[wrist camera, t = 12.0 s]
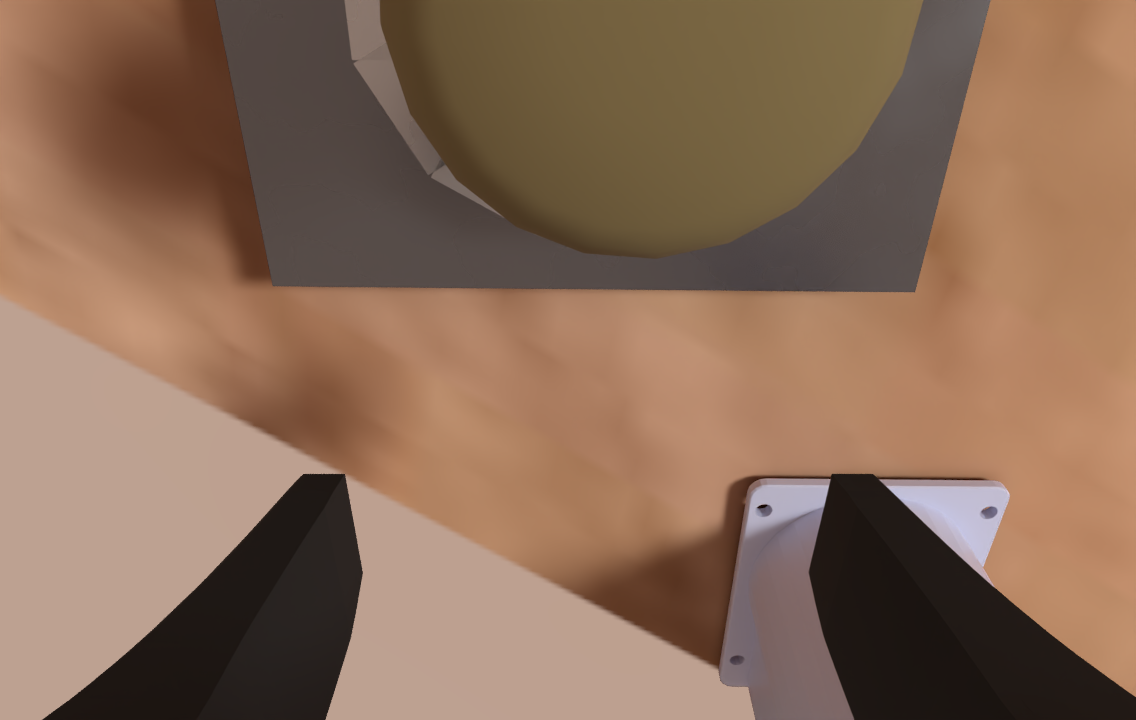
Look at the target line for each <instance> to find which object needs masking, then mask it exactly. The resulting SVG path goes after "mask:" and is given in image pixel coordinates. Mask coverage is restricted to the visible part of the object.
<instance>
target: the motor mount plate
mask: <svg viewBox="0 0 1136 720" xmlns="http://www.w3.org/2000/svg"><path fill="white" fill-rule="evenodd" d="M215 2H216V7H217V12H218V17H219V22H220V27H221V32H222V37H223V42H224V47H225V52H226V57H227V62H228V67H229V72H230V77H231V82H232V87H233V91H234V96H235V101H236V106H237V111H238V116H239V121H240V126H241V131H242V136H243V141H244V146H245V151H246V156H247V161H248V166H249V171H250V176H251V181H252V186H253V191H254V196H255V201H256V206H257V211H258V215H259V220H260V225H261V230H262V235H263V240H264V245H265V250H266V255H267V260H268V265H269V270H270V275H271V280H272V285H273V286H306V287H413V288H520V289H627V290H734V291H841V292H915V290H916V286H917V282H918V278H919V274H920V271H921V267H922V263H923V259H924V255H925V251H926V247H927V244H928V240H929V236H930V232H931V228H932V224H933V220H934V216H935V213H936V209H937V205H938V201H939V197H940V193H941V189H942V186H943V182H944V178H945V174H946V170H947V166H948V162H949V158H950V155H951V151H952V147H953V143H954V139H955V135H956V131H957V127H958V124H959V120H960V116H961V112H962V108H963V104H964V100H965V97H966V93H967V89H968V85H969V81H970V77H971V73H972V69H973V66H974V62H975V58H976V54H977V50H978V46H979V42H980V39H981V35H982V31H983V27H984V23H985V19H986V15H987V11H988V8H989V4H990V0H923V3H922V7H921V10H920V14H919V17H918V21H917V24H916V28H915V31H914V35H913V38H912V42H911V46H910V49H909V53H908V56H907V60H906V63H905V67H904V70H903V74H902V76H901V78H900V79H899V81H898V83H897V84H896V86H895V88H894V89H893V91H892V93H891V94H890V96H889V97H888V99H887V101H886V102H885V104H884V106H883V107H882V109H881V111H880V112H879V114H878V116H877V117H876V119H875V121H874V122H873V124H872V125H871V127H870V129H869V130H868V132H867V134H866V135H865V137H864V139H863V140H862V142H861V144H860V145H859V147H858V148H857V150H856V151H855V152H854V153H853V154H852V155H851V156H850V157H849V158H848V159H847V160H846V161H845V162H844V163H842V164H841V165H840V166H839V167H838V168H837V169H836V170H835V171H834V172H833V173H832V174H831V175H830V176H829V177H828V178H827V179H826V180H825V181H824V182H822V183H821V184H820V185H819V186H818V187H817V188H816V189H815V190H814V191H813V192H812V193H811V194H810V195H809V196H808V197H807V198H806V199H805V200H804V201H802V202H801V203H800V204H799V205H798V206H797V207H796V208H794V209H792V210H790V211H788V212H786V213H784V214H783V215H781V216H779V217H777V218H775V219H773V220H771V221H769V222H768V223H766V224H764V225H762V226H760V227H758V228H756V229H754V230H753V231H751V232H749V233H747V234H745V235H743V236H741V237H739V238H738V239H736V240H734V241H732V242H730V243H728V244H723V245H718V246H714V247H709V248H704V249H700V250H695V251H690V252H686V253H681V254H677V255H672V256H667V257H663V258H658V259H652V258H638V257H625V256H612V255H599V254H586V253H582V252H579V251H577V250H574V249H572V248H569V247H566V246H564V245H561V244H559V243H556V242H554V241H551V240H548V239H546V238H543V237H541V236H538V235H536V234H533V233H531V232H528V231H525V230H523V229H520V228H518V227H516V226H514V225H513V224H512V223H510V222H509V221H508V220H507V219H505V218H504V217H503V216H502V215H500V214H499V213H498V212H497V211H495V210H494V209H493V208H491V207H490V206H489V205H488V204H486V203H485V202H484V201H483V200H481V199H480V198H479V197H478V196H476V195H475V194H474V193H472V192H471V191H470V190H469V189H467V188H466V187H465V186H464V185H462V184H461V183H460V182H458V181H457V180H456V179H455V177H454V176H453V174H452V173H451V171H450V170H449V169H448V167H447V166H446V164H445V163H444V161H443V160H442V159H441V157H440V156H439V154H438V153H437V151H436V150H435V149H434V147H433V146H432V144H431V143H430V141H429V140H428V139H427V137H426V136H425V134H424V133H423V131H422V130H421V129H420V127H419V126H418V124H417V123H416V121H415V120H414V119H413V117H412V116H411V114H410V112H409V109H408V106H407V103H406V100H405V97H404V94H403V91H402V88H401V85H400V82H399V79H398V76H397V73H396V70H395V67H394V64H393V61H392V58H391V55H390V52H389V49H388V46H387V43H386V40H385V37H384V34H383V31H382V28H381V23H380V1H379V0H215Z"/></svg>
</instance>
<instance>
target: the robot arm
mask: <svg viewBox="0 0 1136 720" xmlns="http://www.w3.org/2000/svg"><path fill="white" fill-rule="evenodd" d="M1008 501H1009V493H1008V491H1007V489H1006V488H1005V486H1004V485H1003V484H1002V483H1000V482H999V481H993V480H888V479H878V478H877V477H876V476H874V475H873V474H832V475H831V479H778V478H765V479H759V480H757V481H755V482H753V483H752V484H751V485H750V486H749V489H748V491H747V497H746V503H745V510H744V516H743V522H742V528H741V534H740V541H739V547H738V553H737V559H736V565H735V572H734V578H733V584H732V590H731V596H730V603H729V609H728V615H727V621H726V627H725V634H724V640H723V646H722V652H721V658H720V665H719V676H720V681H721V682H722V683H723V684H725V685H727V686H735V687H748V688H749V692H750V697H751V701H752V706H753V710H754V715H755V720H1136V697H1135V696H1133V695H1132V694H1130V693H1129V692H1127V691H1126V690H1125V689H1123V688H1122V687H1120V686H1119V685H1118V684H1116V683H1115V682H1114V681H1112V680H1111V679H1109V678H1108V677H1107V676H1105V675H1104V674H1103V673H1101V672H1100V671H1098V670H1097V669H1096V668H1094V667H1093V666H1092V665H1090V664H1089V663H1087V662H1086V661H1085V660H1083V659H1082V658H1081V657H1079V656H1078V655H1077V654H1075V653H1074V652H1073V651H1071V650H1070V649H1069V648H1067V647H1066V646H1065V645H1064V644H1062V643H1061V642H1060V641H1058V640H1057V639H1056V638H1055V637H1053V636H1052V635H1051V634H1049V633H1048V632H1047V631H1046V630H1045V629H1043V628H1042V627H1041V626H1040V625H1039V624H1037V623H1036V622H1035V621H1034V620H1032V619H1031V618H1030V617H1029V616H1028V615H1026V614H1025V613H1024V612H1023V611H1022V610H1020V609H1019V608H1018V607H1017V606H1015V605H1014V604H1013V603H1012V602H1011V601H1009V600H1008V599H1007V598H1006V597H1005V596H1004V595H1003V594H1001V593H1000V592H999V591H998V590H997V589H996V588H995V587H994V585H993V584H992V582H991V580H990V579H989V577H988V575H987V574H986V572H985V570H984V569H983V566H984V563H985V561H986V558H987V556H988V553H989V550H990V548H991V545H992V542H993V540H994V537H995V535H996V532H997V529H998V527H999V524H1000V522H1001V519H1002V516H1003V514H1004V511H1005V509H1006V506H1007V503H1008ZM763 504H767V505H768V506H766V507H765V508H761V509H759V508H757V507H758V506H760V505H763ZM986 507H989V508H988V509H986V510H983V509H984V508H986ZM362 574H363V571H362V566H361V560H360V555H359V550H358V544H357V538H356V533H355V527H354V522H353V516H352V511H351V505H350V500H349V494H348V489H347V484H346V478H345V474H303V475H302V476H301V477H300V478H299V479H298V480H297V481H296V482H295V483H294V484H293V485H292V486H291V487H290V488H289V490H288V491H287V492H286V493H285V494H284V495H283V496H282V497H281V498H280V499H279V501H278V502H277V503H276V504H275V505H274V506H273V507H272V508H271V509H270V511H269V512H268V513H267V514H266V515H265V516H264V517H263V518H262V519H261V521H260V522H259V523H258V524H257V525H256V526H255V527H254V528H253V530H252V531H251V532H250V533H249V534H248V535H247V536H246V537H245V538H244V539H243V540H242V541H241V542H240V544H238V546H237V547H236V548H235V549H234V550H233V551H232V552H231V553H230V554H229V555H228V556H227V557H226V558H225V559H224V560H223V561H222V562H221V563H220V564H219V565H218V566H217V567H216V568H215V570H214V571H213V572H212V573H211V574H210V575H209V576H208V577H207V578H206V579H205V580H204V581H203V582H202V583H201V584H200V585H199V586H198V587H197V588H196V589H195V590H194V591H193V592H192V593H191V594H190V595H189V596H188V597H187V598H185V599H184V600H183V601H182V602H181V603H180V604H179V605H178V606H177V607H176V608H175V609H174V610H173V611H172V612H171V613H170V614H169V615H168V616H167V617H166V618H165V619H164V620H163V621H161V622H160V623H159V624H158V625H157V626H156V627H155V628H154V629H153V630H152V631H151V632H150V633H149V634H147V635H146V636H145V637H144V638H143V639H142V640H141V641H140V642H139V643H137V644H136V645H135V646H134V647H133V648H132V649H131V650H130V651H128V652H127V653H126V654H125V655H124V656H123V657H121V658H120V659H119V660H118V661H117V662H116V663H114V664H113V665H112V666H111V667H110V668H108V669H107V670H106V671H105V672H103V673H102V674H101V675H100V676H99V677H98V678H96V679H95V680H94V681H93V682H91V683H90V684H89V685H88V686H86V687H85V688H84V689H83V690H81V692H79V693H78V694H77V695H75V696H74V697H72V698H71V699H70V700H69V701H67V702H66V703H64V704H63V705H62V706H60V707H59V708H58V709H56V710H55V711H53V712H52V713H51V714H49V715H48V716H47V717H45V718H44V719H43V720H325V719H326V716H327V713H328V710H329V707H330V703H331V700H332V697H333V694H334V691H335V688H336V684H337V681H338V678H339V675H340V671H341V668H342V665H343V661H344V658H345V655H346V652H347V649H348V645H349V642H350V639H351V634H352V628H353V623H354V618H355V614H356V609H357V603H358V597H359V591H360V585H361V580H362ZM736 655H737V656H736Z"/></svg>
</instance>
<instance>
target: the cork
mask: <svg viewBox="0 0 1136 720" xmlns="http://www.w3.org/2000/svg"><path fill="white" fill-rule="evenodd" d="M379 1H380V23H381V28H382V31H383V34H384V37H385V40H386V43H387V46H388V49H389V52H390V55H391V58H392V61H393V64H394V67H395V70H396V73H397V76H398V79H399V82H400V85H401V88H402V91H403V94H404V97H405V100H406V103H407V106H408V109H409V112H410V114H411V116H412V117H413V119H414V120H415V121H416V123H417V124H418V126H419V127H420V129H421V130H422V131H423V133H424V134H425V136H426V137H427V139H428V140H429V141H430V143H431V144H432V146H433V147H434V149H435V150H436V151H437V153H438V154H439V156H440V157H441V159H442V160H443V161H444V163H445V164H446V166H447V167H448V169H449V170H450V171H451V173H452V174H453V176H454V177H455V179H456V180H457V181H458V182H460V183H461V184H462V185H464V186H465V187H466V188H467V189H469V190H470V191H471V192H472V193H474V194H475V195H476V196H478V197H479V198H480V199H481V200H483V201H484V202H485V203H486V204H488V205H489V206H490V207H491V208H493V209H494V210H495V211H497V212H498V213H499V214H500V215H502V216H503V217H504V218H505V219H507V220H508V221H509V222H510V223H512V224H513V225H514V226H516V227H518V228H520V229H523V230H525V231H528V232H531V233H533V234H536V235H538V236H541V237H543V238H546V239H548V240H551V241H554V242H556V243H559V244H561V245H564V246H566V247H569V248H572V249H574V250H577V251H579V252H582V253H586V254H599V255H612V256H625V257H638V258H652V259H658V258H663V257H667V256H672V255H677V254H681V253H686V252H690V251H695V250H700V249H704V248H709V247H714V246H718V245H723V244H728V243H730V242H732V241H734V240H736V239H738V238H739V237H741V236H743V235H745V234H747V233H749V232H751V231H753V230H754V229H756V228H758V227H760V226H762V225H764V224H766V223H768V222H769V221H771V220H773V219H775V218H777V217H779V216H781V215H783V214H784V213H786V212H788V211H790V210H792V209H794V208H796V207H797V206H798V205H799V204H800V203H801V202H802V201H804V200H805V199H806V198H807V197H808V196H809V195H810V194H811V193H812V192H813V191H814V190H815V189H816V188H817V187H818V186H819V185H820V184H821V183H822V182H824V181H825V180H826V179H827V178H828V177H829V176H830V175H831V174H832V173H833V172H834V171H835V170H836V169H837V168H838V167H839V166H840V165H841V164H842V163H844V162H845V161H846V160H847V159H848V158H849V157H850V156H851V155H852V154H853V153H854V152H855V151H856V150H857V148H858V147H859V145H860V144H861V142H862V140H863V139H864V137H865V135H866V134H867V132H868V130H869V129H870V127H871V125H872V124H873V122H874V121H875V119H876V117H877V116H878V114H879V112H880V111H881V109H882V107H883V106H884V104H885V102H886V101H887V99H888V97H889V96H890V94H891V93H892V91H893V89H894V88H895V86H896V84H897V83H898V81H899V79H900V78H901V76H902V74H903V70H904V67H905V63H906V60H907V56H908V53H909V49H910V46H911V42H912V38H913V35H914V31H915V28H916V24H917V21H918V17H919V14H920V10H921V7H922V3H923V0H379Z"/></svg>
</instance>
